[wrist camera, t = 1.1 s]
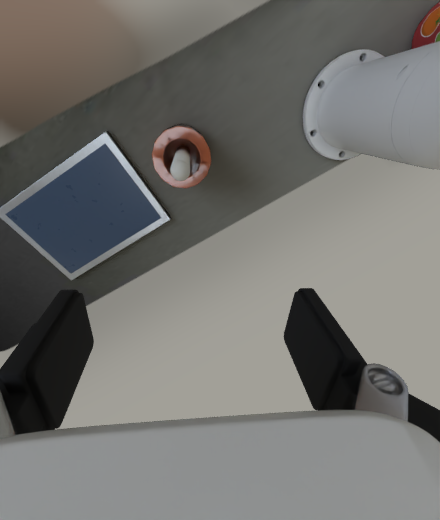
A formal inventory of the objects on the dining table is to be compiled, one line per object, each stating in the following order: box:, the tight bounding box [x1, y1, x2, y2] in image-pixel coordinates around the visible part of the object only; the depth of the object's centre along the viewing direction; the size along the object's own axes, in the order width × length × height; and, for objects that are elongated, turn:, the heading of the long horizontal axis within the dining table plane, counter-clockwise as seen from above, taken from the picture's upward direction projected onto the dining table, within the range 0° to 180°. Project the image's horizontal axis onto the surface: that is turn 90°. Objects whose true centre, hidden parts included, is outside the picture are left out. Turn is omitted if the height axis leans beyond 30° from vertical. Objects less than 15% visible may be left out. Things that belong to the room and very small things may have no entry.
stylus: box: [170, 145, 190, 181], centre depth 29 cm, size 2×2×14 cm
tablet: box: [0, 131, 171, 280], centre depth 38 cm, size 20×14×1 cm
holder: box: [152, 124, 211, 188], centre depth 32 cm, size 7×7×7 cm
